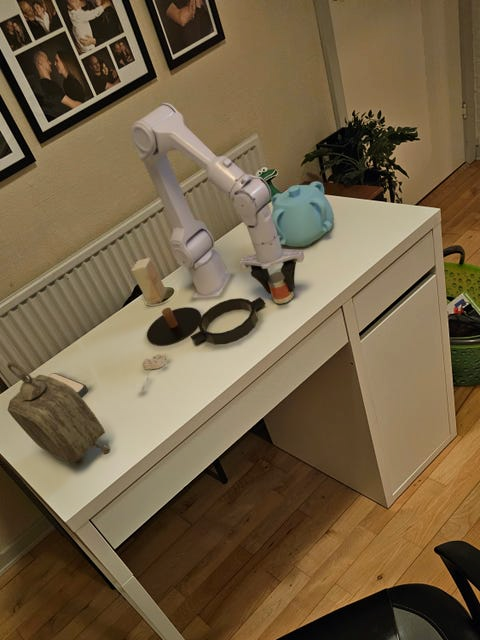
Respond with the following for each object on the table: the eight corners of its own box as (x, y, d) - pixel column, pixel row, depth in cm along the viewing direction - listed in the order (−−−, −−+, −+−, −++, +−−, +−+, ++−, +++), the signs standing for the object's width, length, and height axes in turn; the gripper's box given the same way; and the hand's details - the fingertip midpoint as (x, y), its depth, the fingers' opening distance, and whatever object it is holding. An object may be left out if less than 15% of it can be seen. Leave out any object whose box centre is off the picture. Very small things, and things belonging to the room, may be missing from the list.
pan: (186, 335, 132) (181, 324, 130) (252, 297, 134) (248, 286, 132) (206, 360, 122) (201, 349, 120) (278, 319, 124) (274, 307, 122)
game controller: (168, 355, 129) (163, 347, 127) (165, 387, 120) (161, 378, 119) (146, 362, 130) (141, 353, 128) (142, 394, 122) (137, 385, 120)
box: (162, 303, 147) (144, 267, 140) (148, 305, 149) (130, 270, 141) (167, 291, 150) (150, 256, 143) (154, 294, 152) (136, 259, 145)
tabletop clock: (119, 448, 111) (51, 355, 94) (88, 481, 107) (12, 390, 90) (78, 430, 120) (10, 342, 103) (48, 460, 116) (-28, 374, 99)
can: (276, 292, 130) (270, 272, 127) (296, 290, 128) (290, 269, 125) (271, 304, 128) (264, 284, 124) (290, 302, 125) (284, 282, 122)
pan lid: (141, 331, 140) (131, 313, 137) (190, 303, 142) (182, 285, 138) (158, 356, 130) (148, 337, 126) (211, 326, 131) (202, 307, 128)
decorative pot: (280, 228, 155) (266, 181, 146) (336, 214, 149) (325, 165, 140) (274, 258, 144) (258, 210, 135) (334, 244, 139) (322, 193, 130)
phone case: (30, 398, 136) (63, 415, 126) (26, 394, 135) (59, 410, 125) (56, 375, 139) (90, 389, 129) (53, 371, 138) (87, 384, 128)
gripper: (228, 252, 118) (248, 303, 128) (291, 243, 112) (306, 298, 121) (239, 234, 123) (256, 285, 132) (299, 225, 116) (314, 279, 125)
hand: (281, 290), depth 127 cm, fingers closed on can, 5 cm apart
